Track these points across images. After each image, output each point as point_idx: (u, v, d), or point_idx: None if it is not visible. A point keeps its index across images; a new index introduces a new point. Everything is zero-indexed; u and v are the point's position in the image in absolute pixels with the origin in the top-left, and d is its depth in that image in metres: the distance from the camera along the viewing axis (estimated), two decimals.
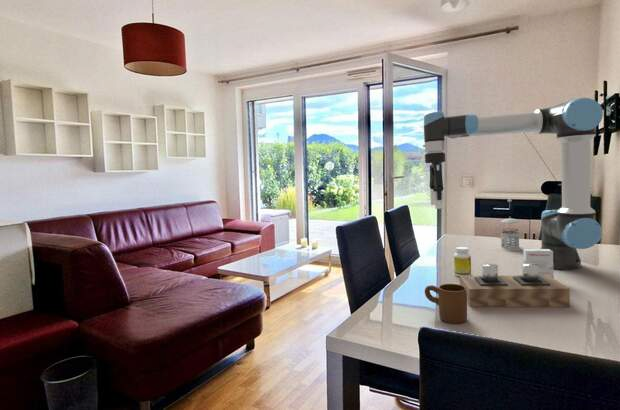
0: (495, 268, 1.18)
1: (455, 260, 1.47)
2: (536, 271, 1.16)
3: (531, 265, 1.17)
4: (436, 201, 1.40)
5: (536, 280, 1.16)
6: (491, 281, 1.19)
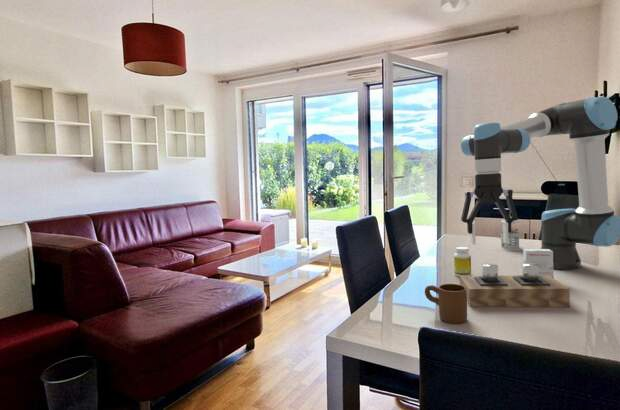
0: (495, 268, 1.18)
1: (455, 260, 1.47)
2: (536, 271, 1.16)
3: (531, 265, 1.17)
4: (471, 234, 1.21)
5: (536, 280, 1.16)
6: (491, 281, 1.19)
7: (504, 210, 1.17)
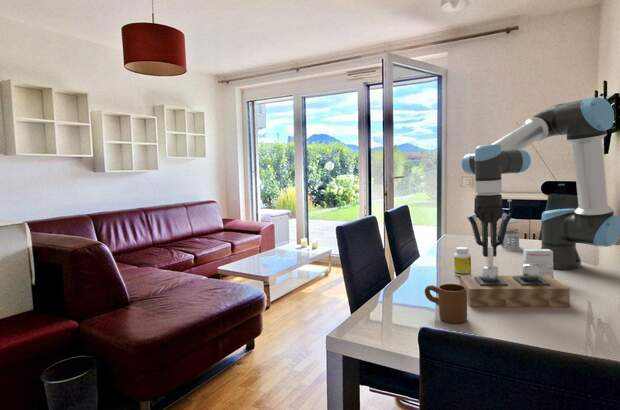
0: (495, 270, 1.18)
1: (455, 260, 1.47)
2: (536, 271, 1.16)
3: (531, 265, 1.17)
4: (486, 257, 1.21)
5: (536, 280, 1.16)
6: None
7: (495, 233, 1.18)
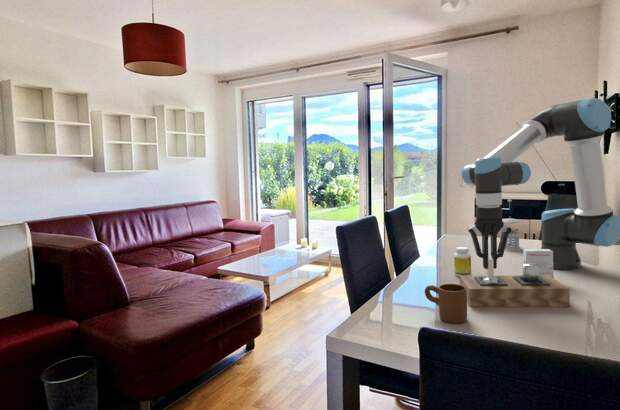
0: (495, 282, 1.19)
1: (455, 260, 1.47)
2: (536, 271, 1.16)
3: (531, 265, 1.17)
4: (486, 269, 1.21)
5: (536, 280, 1.16)
6: None
7: (495, 246, 1.18)
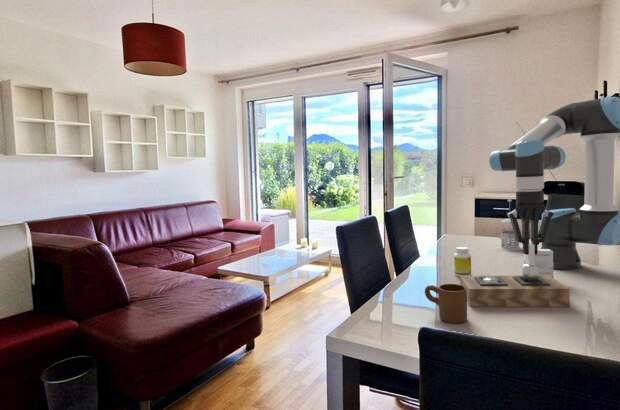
0: (495, 282, 1.19)
1: (455, 260, 1.47)
2: (536, 271, 1.16)
3: (531, 265, 1.17)
4: (526, 255, 1.19)
5: (536, 280, 1.16)
6: None
7: (536, 231, 1.15)
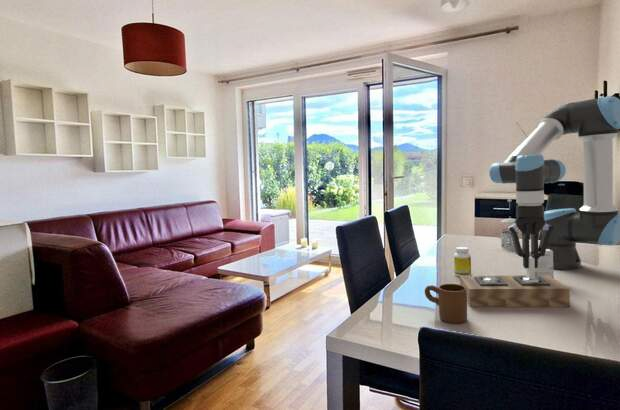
0: (495, 282, 1.19)
1: (455, 260, 1.47)
2: None
3: (531, 279, 1.17)
4: (526, 268, 1.19)
5: None
6: None
7: (536, 245, 1.16)
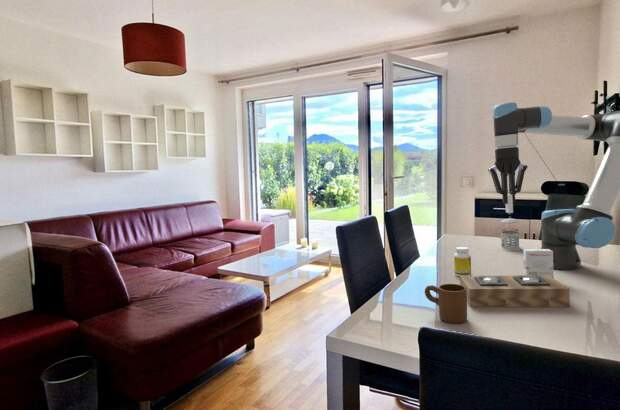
0: (495, 282, 1.19)
1: (455, 260, 1.47)
2: None
3: (531, 279, 1.17)
4: (505, 204, 1.36)
5: None
6: None
7: (513, 182, 1.33)
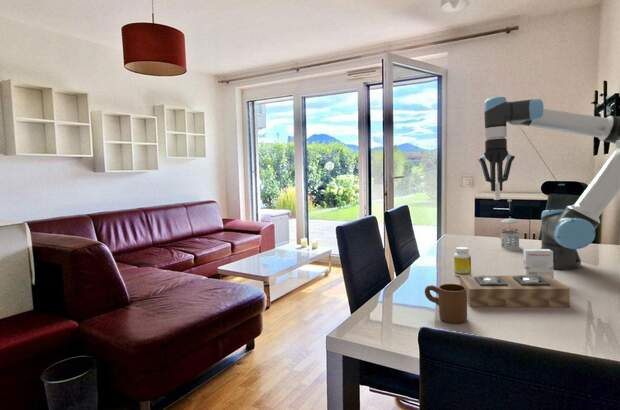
0: (495, 282, 1.19)
1: (455, 260, 1.47)
2: None
3: (531, 279, 1.17)
4: (494, 192, 1.47)
5: None
6: None
7: (501, 171, 1.43)
